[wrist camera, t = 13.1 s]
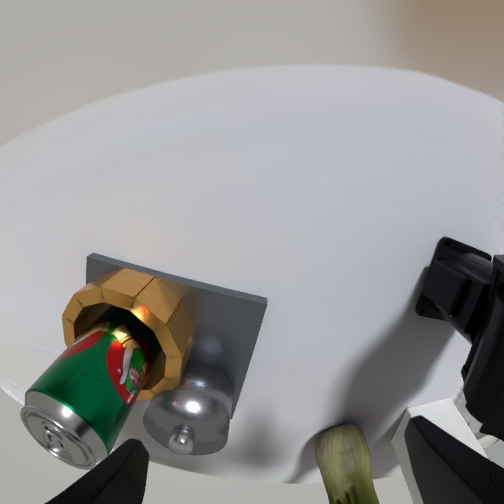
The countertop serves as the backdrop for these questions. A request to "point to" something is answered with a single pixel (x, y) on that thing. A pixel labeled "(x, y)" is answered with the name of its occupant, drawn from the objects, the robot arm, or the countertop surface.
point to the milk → (443, 417)
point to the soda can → (91, 388)
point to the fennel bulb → (346, 465)
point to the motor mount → (178, 346)
